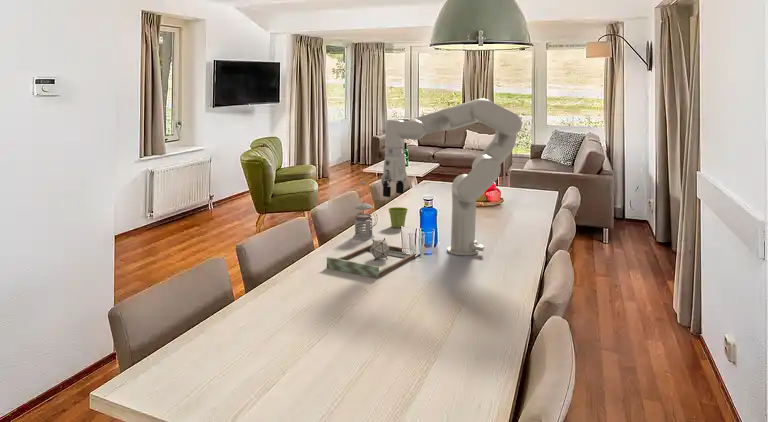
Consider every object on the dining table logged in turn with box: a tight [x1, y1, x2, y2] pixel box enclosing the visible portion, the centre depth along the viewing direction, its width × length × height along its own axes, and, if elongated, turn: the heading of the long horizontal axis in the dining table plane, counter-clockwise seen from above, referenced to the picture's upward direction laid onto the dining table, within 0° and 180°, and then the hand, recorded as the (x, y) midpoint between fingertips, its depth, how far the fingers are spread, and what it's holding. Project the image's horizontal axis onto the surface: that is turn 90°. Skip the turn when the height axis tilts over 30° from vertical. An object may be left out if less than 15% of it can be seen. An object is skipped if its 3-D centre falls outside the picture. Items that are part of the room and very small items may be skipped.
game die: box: [368, 237, 392, 261], centre depth 206 cm, size 9×8×10 cm
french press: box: [352, 181, 379, 241], centre depth 236 cm, size 10×12×25 cm
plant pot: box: [387, 206, 409, 229], centre depth 256 cm, size 9×9×9 cm
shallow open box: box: [326, 243, 416, 279], centre depth 204 cm, size 22×33×4 cm
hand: (393, 194), depth 212 cm, fingers open, 9 cm apart
